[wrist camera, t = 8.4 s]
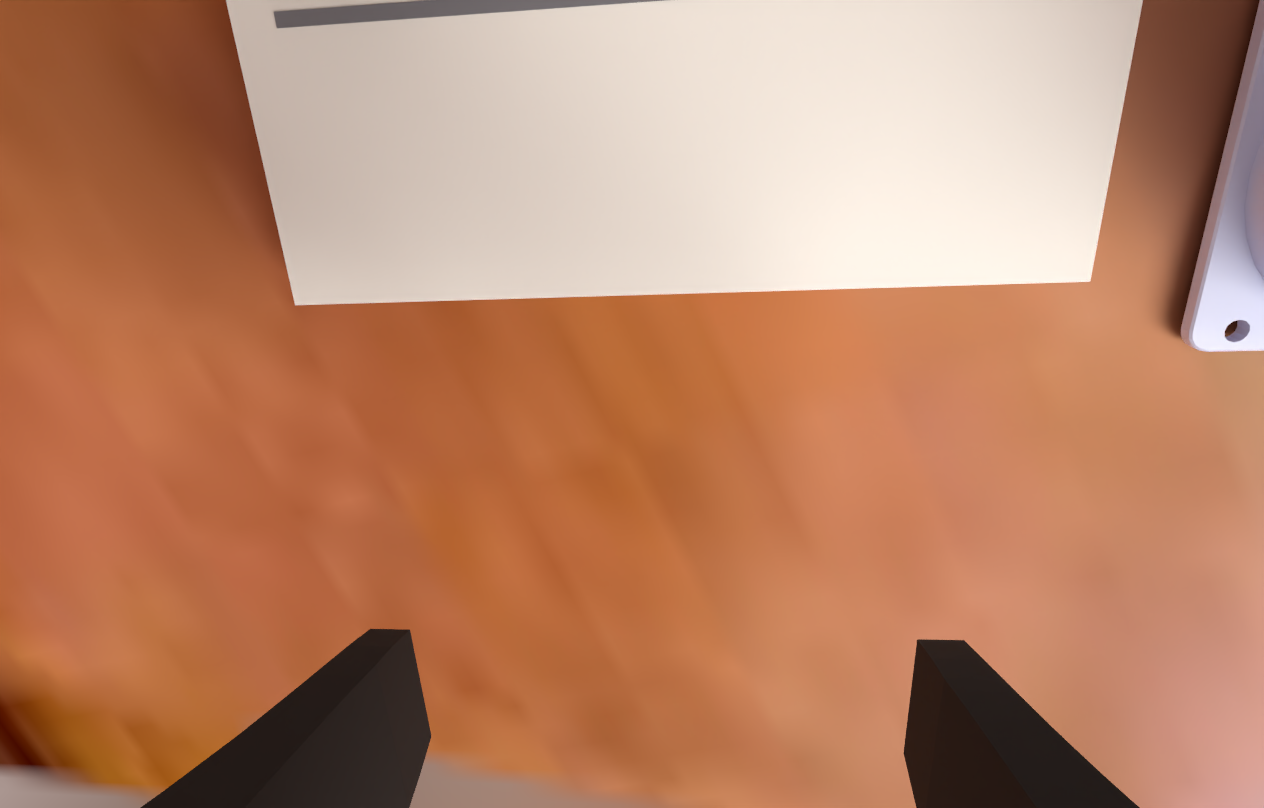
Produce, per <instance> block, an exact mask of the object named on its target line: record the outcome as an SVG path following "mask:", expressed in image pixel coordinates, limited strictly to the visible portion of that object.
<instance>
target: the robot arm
mask: <svg viewBox="0 0 1264 808" xmlns="http://www.w3.org/2000/svg"><path fill="white" fill-rule="evenodd" d="M1233 321H1237V328H1236V330H1235V332H1233V333H1232V334H1231V335H1229V336H1227V337H1225V330H1226V328H1227V326H1228V325H1229V324H1231V323H1232V322H1233ZM1181 337H1182V339H1183V341H1184V343H1186V344H1187V345H1189V346H1190V347H1192V348H1195V349H1197V350H1200V351H1206V352H1216V351H1264V0H1260V2H1259V6H1258V10H1257V14H1256V19H1255V23H1254V27H1253V31H1252V35H1251V39H1250V43H1249V48H1248V52H1247V56H1246V60H1245V64H1244V68H1243V73H1242V77H1241V81H1240V85H1239V89H1238V93H1237V97H1236V102H1235V106H1234V110H1233V114H1232V118H1231V122H1230V127H1229V131H1228V135H1227V139H1226V143H1225V147H1224V151H1223V156H1222V160H1221V164H1220V168H1219V172H1218V176H1217V181H1216V185H1215V189H1214V193H1213V197H1212V201H1211V206H1210V210H1209V214H1208V218H1207V222H1206V226H1205V230H1204V235H1203V239H1202V243H1201V247H1200V251H1199V255H1198V260H1197V264H1196V268H1195V272H1194V276H1193V280H1192V284H1191V289H1190V293H1189V297H1188V301H1187V305H1186V309H1185V314H1184V318H1183V322H1182V326H1181ZM430 739H431V732H430V727H429V722H428V717H427V712H426V708H425V703H424V698H423V693H422V688H421V683H420V678H419V673H418V668H417V663H416V658H415V653H414V648H413V643H412V638H411V633H410V630H395V629H370V630H368V631H367V632H366V633H364V634H363V635H362V636H360V637H359V638H358V639H357V640H355V641H354V642H353V643H351V644H350V645H349V646H348V647H346V648H345V649H344V650H343V651H341V652H340V653H339V654H338V655H337V656H335V657H334V658H333V659H332V660H330V661H329V662H328V663H327V664H326V665H324V666H323V667H322V668H321V669H319V670H318V671H317V672H316V673H315V674H313V675H312V676H311V677H310V678H309V679H307V680H306V681H305V682H304V683H302V684H301V685H300V686H299V687H298V688H296V689H295V690H294V691H293V692H291V693H290V694H289V695H288V696H286V697H285V698H284V699H283V700H282V701H280V702H279V703H278V704H277V705H275V706H274V707H273V708H272V709H270V710H269V711H268V712H267V713H265V714H264V715H263V716H262V717H260V718H259V719H258V720H257V721H255V722H254V723H253V724H252V725H250V726H249V727H248V728H247V729H246V730H244V731H243V732H242V733H240V734H239V735H238V736H237V737H235V738H234V739H233V740H231V741H230V742H229V743H227V744H226V745H225V746H223V747H222V748H221V749H219V750H218V751H217V752H215V753H214V754H213V755H211V756H210V757H209V758H207V759H206V760H205V761H203V762H202V763H201V764H199V765H198V766H197V767H195V768H194V769H193V770H191V771H190V772H189V773H187V774H186V775H185V776H183V777H182V778H181V779H179V780H178V781H177V782H175V783H174V784H173V785H171V786H170V787H169V788H167V789H166V790H165V791H163V792H162V793H161V794H159V795H158V796H156V797H155V798H153V799H152V800H151V801H149V802H148V803H146V804H145V805H144V806H142V807H141V808H409V807H410V803H411V800H412V797H413V794H414V791H415V788H416V785H417V782H418V779H419V776H420V773H421V769H422V766H423V762H424V759H425V756H426V752H427V749H428V746H429V742H430ZM904 756H905V760H906V765H907V769H908V773H909V778H910V782H911V786H912V791H913V795H914V799H915V803H916V807H917V808H1139V807H1138V806H1137V805H1136V804H1135V803H1134V802H1132V801H1131V800H1130V799H1129V798H1128V797H1127V796H1126V795H1125V794H1123V793H1122V792H1121V791H1120V790H1119V789H1118V788H1117V787H1116V786H1115V785H1113V784H1112V783H1111V782H1110V781H1109V780H1108V779H1107V778H1106V777H1104V776H1103V775H1102V774H1101V773H1100V772H1099V771H1098V770H1097V769H1096V768H1095V767H1094V766H1093V765H1092V764H1091V763H1089V762H1088V761H1087V760H1086V759H1085V758H1084V757H1083V756H1082V755H1081V754H1080V753H1079V752H1078V751H1077V750H1075V749H1074V748H1073V747H1072V746H1071V745H1070V744H1069V743H1068V742H1067V741H1066V740H1065V739H1064V738H1063V737H1062V736H1061V735H1060V734H1059V733H1058V732H1056V731H1055V730H1054V729H1053V728H1052V727H1051V726H1050V725H1049V724H1048V723H1047V722H1046V721H1045V720H1044V719H1043V718H1042V717H1041V716H1040V715H1039V714H1038V713H1037V712H1036V711H1035V710H1034V709H1033V708H1032V707H1031V706H1030V705H1029V704H1028V703H1027V702H1026V701H1025V700H1024V699H1023V698H1022V697H1021V696H1020V695H1019V694H1018V693H1017V692H1016V691H1015V690H1014V689H1013V688H1012V687H1011V686H1010V685H1009V684H1008V683H1007V682H1006V681H1005V680H1004V679H1003V678H1002V677H1001V676H1000V675H999V674H998V673H997V672H996V671H995V670H993V669H992V668H991V667H990V666H989V665H988V664H987V663H986V662H985V661H984V660H983V659H982V658H981V657H980V656H979V655H978V654H977V653H976V652H975V651H974V650H973V649H972V648H971V647H970V646H969V645H968V644H967V643H966V642H965V641H964V640H917V647H916V655H915V664H914V672H913V680H912V688H911V697H910V705H909V713H908V722H907V730H906V738H905V747H904Z"/></svg>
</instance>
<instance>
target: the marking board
mask: <svg viewBox="0 0 1264 808" xmlns="http://www.w3.org/2000/svg"><path fill="white" fill-rule="evenodd" d="M226 3H227V8H228V12H229V17H230V21H231V25H232V30H233V34H234V39H235V43H236V47H237V52H238V56H239V61H240V65H241V69H242V74H243V78H244V83H245V87H246V91H247V96H248V100H249V105H250V109H251V113H252V118H253V122H254V127H255V131H256V135H257V140H258V144H259V148H260V153H261V157H262V162H263V166H264V170H265V175H266V179H267V184H268V188H269V192H270V197H271V201H272V206H273V210H274V214H275V219H276V223H277V228H278V232H279V236H280V241H281V245H282V250H283V254H284V258H285V263H286V267H287V272H288V276H289V280H290V285H291V289H292V294H293V298H294V302H295V305H319V304H353V303H387V302H420V301H454V300H487V299H521V298H555V297H588V296H622V295H656V294H689V293H723V292H756V291H790V290H824V289H857V288H891V287H925V286H958V285H992V284H1025V283H1059V282H1090V280H1091V274H1092V269H1093V264H1094V259H1095V253H1096V248H1097V243H1098V237H1099V232H1100V227H1101V221H1102V216H1103V211H1104V205H1105V200H1106V195H1107V189H1108V184H1109V179H1110V173H1111V168H1112V163H1113V157H1114V152H1115V147H1116V141H1117V136H1118V131H1119V125H1120V120H1121V115H1122V109H1123V104H1124V99H1125V93H1126V88H1127V83H1128V77H1129V72H1130V67H1131V61H1132V56H1133V51H1134V45H1135V40H1136V35H1137V29H1138V24H1139V19H1140V13H1141V8H1142V3H1143V0H226Z"/></svg>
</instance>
